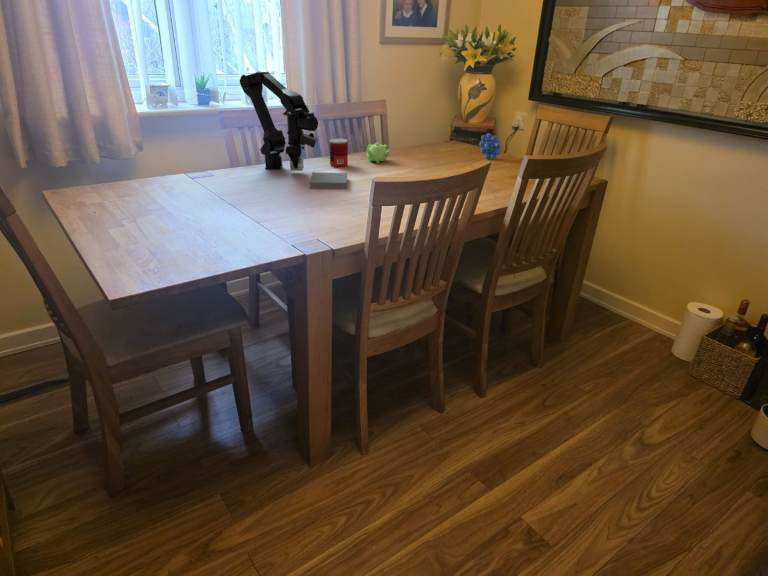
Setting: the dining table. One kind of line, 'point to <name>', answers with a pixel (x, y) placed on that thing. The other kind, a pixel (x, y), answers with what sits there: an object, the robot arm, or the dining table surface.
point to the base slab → (328, 181)
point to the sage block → (300, 165)
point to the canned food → (338, 152)
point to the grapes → (489, 146)
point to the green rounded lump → (377, 152)
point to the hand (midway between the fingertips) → (296, 166)
